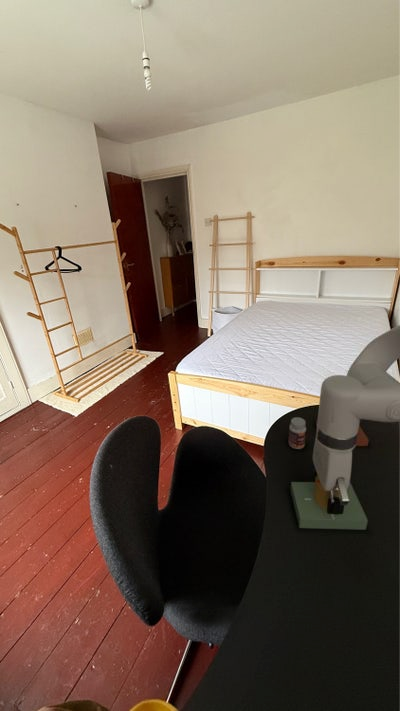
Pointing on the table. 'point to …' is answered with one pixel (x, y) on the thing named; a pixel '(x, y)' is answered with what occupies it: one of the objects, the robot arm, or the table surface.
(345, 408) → the robot arm
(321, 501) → the dial
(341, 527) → the control panel
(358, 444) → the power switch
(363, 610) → the table surface
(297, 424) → the pill bottle
